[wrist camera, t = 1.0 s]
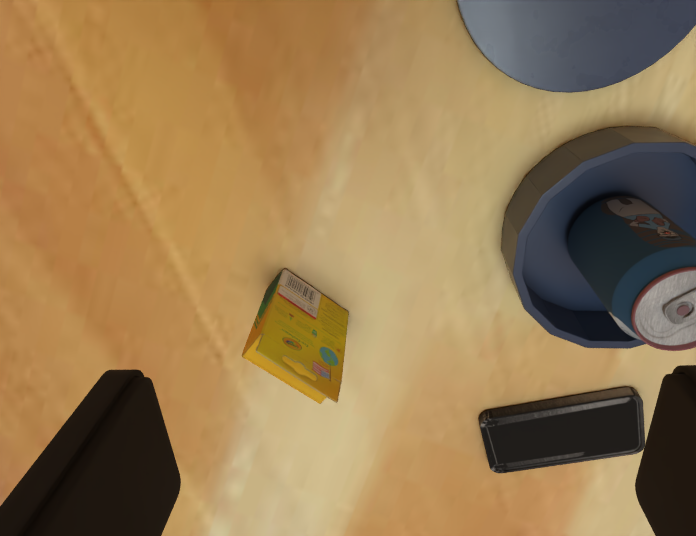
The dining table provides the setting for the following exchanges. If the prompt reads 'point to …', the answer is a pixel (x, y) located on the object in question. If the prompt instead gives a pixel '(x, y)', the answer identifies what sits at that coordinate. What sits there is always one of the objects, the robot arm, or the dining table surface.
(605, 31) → the lid
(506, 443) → the phone
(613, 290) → the soda can
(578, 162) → the pot
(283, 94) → the dining table surface
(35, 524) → the robot arm
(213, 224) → the dining table surface
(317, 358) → the crayon box
